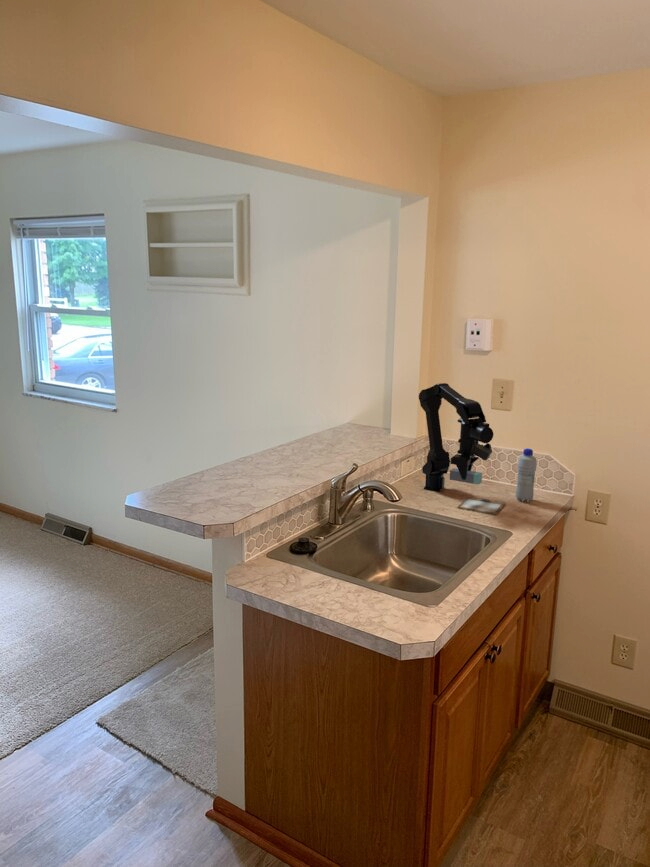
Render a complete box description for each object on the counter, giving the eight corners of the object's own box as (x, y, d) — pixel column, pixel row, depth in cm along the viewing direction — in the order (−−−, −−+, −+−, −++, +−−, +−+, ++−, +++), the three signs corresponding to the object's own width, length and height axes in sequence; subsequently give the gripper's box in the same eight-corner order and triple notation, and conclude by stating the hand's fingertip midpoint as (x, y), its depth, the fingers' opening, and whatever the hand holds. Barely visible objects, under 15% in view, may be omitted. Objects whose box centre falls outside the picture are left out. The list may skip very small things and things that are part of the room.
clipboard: (457, 508, 241) (457, 505, 241) (467, 498, 251) (467, 495, 251) (496, 515, 234) (496, 512, 234) (504, 505, 245) (504, 502, 244)
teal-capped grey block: (449, 479, 244) (450, 470, 243) (452, 477, 247) (453, 468, 246) (478, 484, 239) (479, 475, 238) (481, 482, 242) (482, 472, 241)
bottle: (512, 501, 248) (517, 449, 244) (516, 496, 254) (521, 445, 249) (531, 504, 245) (536, 452, 241) (534, 499, 251) (539, 447, 246)
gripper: (482, 445, 227) (479, 489, 231) (497, 434, 243) (494, 475, 247) (451, 441, 233) (448, 483, 236) (468, 430, 248) (465, 470, 252)
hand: (465, 478), depth 243 cm, fingers closed on teal-capped grey block, 3 cm apart
